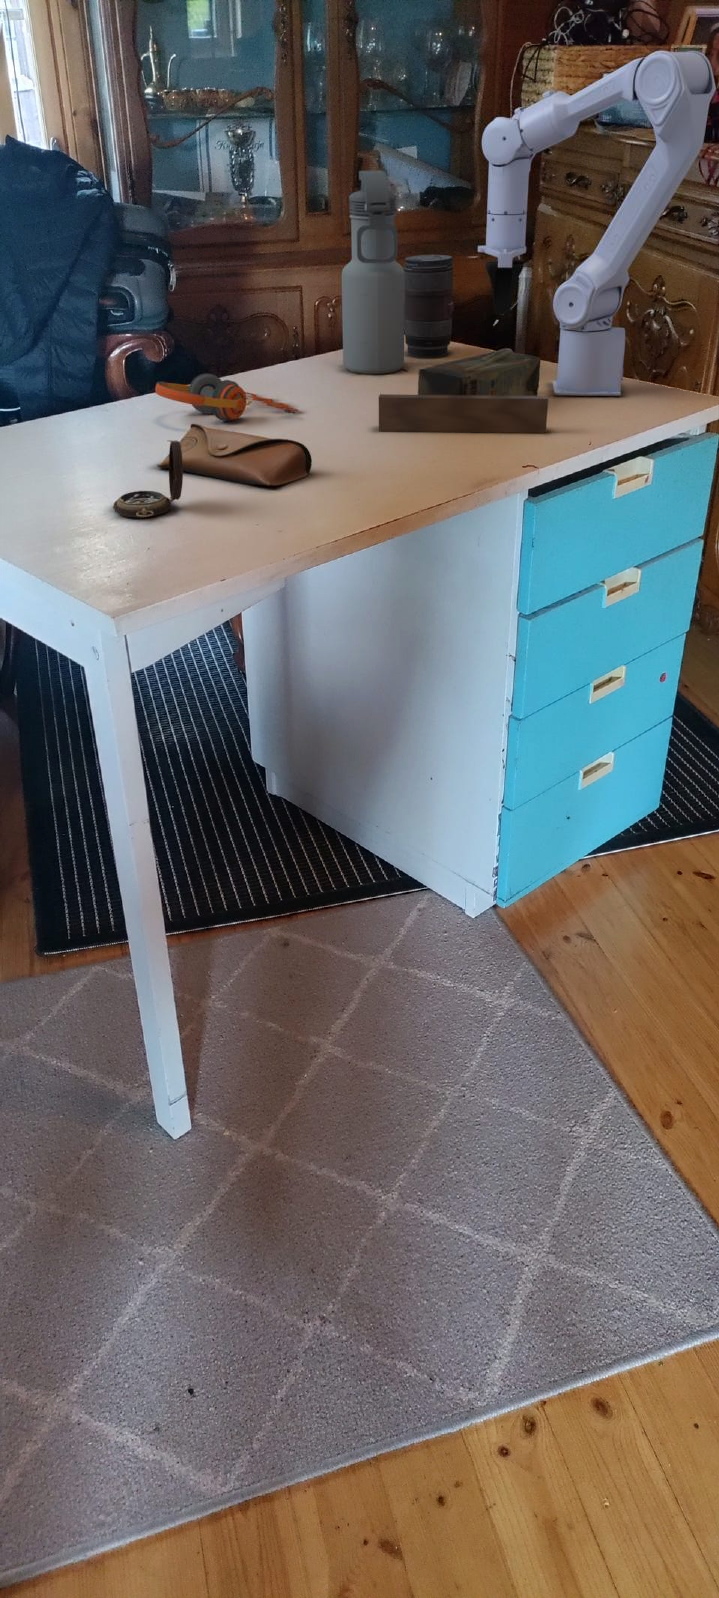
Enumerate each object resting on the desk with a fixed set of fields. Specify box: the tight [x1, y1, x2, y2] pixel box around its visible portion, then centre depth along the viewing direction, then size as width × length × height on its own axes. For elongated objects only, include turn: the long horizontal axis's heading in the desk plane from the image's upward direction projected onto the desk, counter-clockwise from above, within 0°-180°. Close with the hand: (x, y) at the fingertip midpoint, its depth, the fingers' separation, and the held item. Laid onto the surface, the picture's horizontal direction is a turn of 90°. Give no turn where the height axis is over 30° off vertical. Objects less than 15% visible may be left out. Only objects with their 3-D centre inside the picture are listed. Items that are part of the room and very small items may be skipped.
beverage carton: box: [417, 348, 541, 396], centre depth 166 cm, size 8×19×7 cm, turn 138°
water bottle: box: [341, 169, 405, 375], centre depth 183 cm, size 10×10×28 cm
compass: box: [112, 439, 184, 518], centre depth 128 cm, size 8×8×7 cm
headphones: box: [155, 373, 299, 422], centre depth 165 cm, size 17×5×20 cm
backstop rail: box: [378, 393, 549, 434], centre depth 156 cm, size 22×2×4 cm, turn 84°
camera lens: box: [403, 254, 454, 359], centre depth 196 cm, size 8×8×15 cm
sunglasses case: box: [156, 423, 313, 487], centre depth 142 cm, size 18×7×7 cm
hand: (502, 313), depth 179 cm, fingers closed
